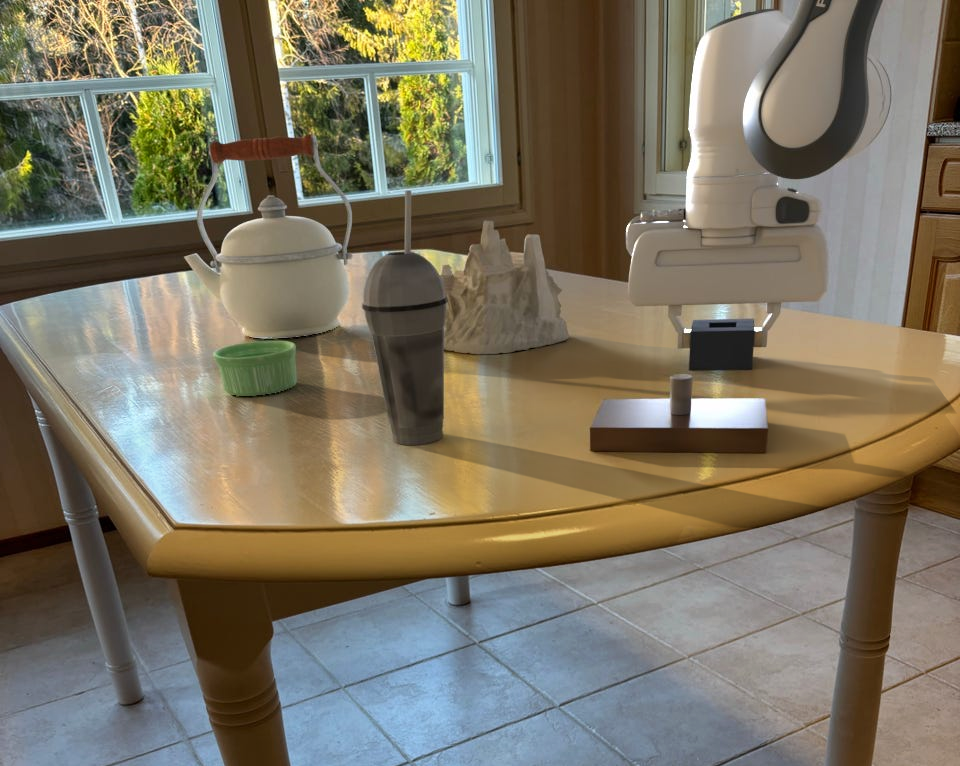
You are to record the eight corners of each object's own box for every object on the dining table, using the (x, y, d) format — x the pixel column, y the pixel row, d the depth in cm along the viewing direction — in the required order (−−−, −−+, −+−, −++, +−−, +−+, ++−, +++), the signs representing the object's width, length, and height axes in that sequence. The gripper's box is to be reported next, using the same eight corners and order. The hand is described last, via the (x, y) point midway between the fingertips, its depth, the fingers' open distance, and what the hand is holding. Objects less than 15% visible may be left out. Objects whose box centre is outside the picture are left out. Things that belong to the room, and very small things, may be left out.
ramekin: (315, 379, 106) (310, 340, 104) (275, 400, 99) (268, 358, 97) (249, 378, 109) (242, 339, 107) (204, 397, 102) (196, 357, 100)
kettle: (377, 315, 142) (356, 130, 130) (350, 339, 127) (323, 132, 115) (221, 323, 146) (187, 143, 134) (176, 347, 130) (132, 146, 118)
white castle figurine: (584, 338, 116) (574, 206, 109) (466, 364, 110) (448, 227, 104) (527, 329, 129) (515, 211, 122) (418, 351, 123) (399, 229, 117)
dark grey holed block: (751, 355, 103) (754, 318, 101) (752, 369, 97) (754, 330, 95) (691, 356, 104) (692, 319, 102) (688, 370, 99) (690, 331, 97)
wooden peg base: (763, 421, 81) (768, 362, 78) (766, 453, 73) (771, 389, 71) (603, 420, 84) (603, 364, 82) (589, 451, 77) (589, 390, 74)
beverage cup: (368, 433, 85) (338, 194, 76) (443, 421, 87) (423, 186, 78) (390, 454, 79) (360, 197, 70) (469, 441, 81) (451, 188, 72)
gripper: (623, 214, 93) (622, 354, 100) (838, 203, 88) (822, 351, 95) (629, 209, 99) (627, 342, 105) (833, 198, 94) (818, 339, 100)
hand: (721, 347), depth 100 cm, fingers closed on dark grey holed block, 6 cm apart
